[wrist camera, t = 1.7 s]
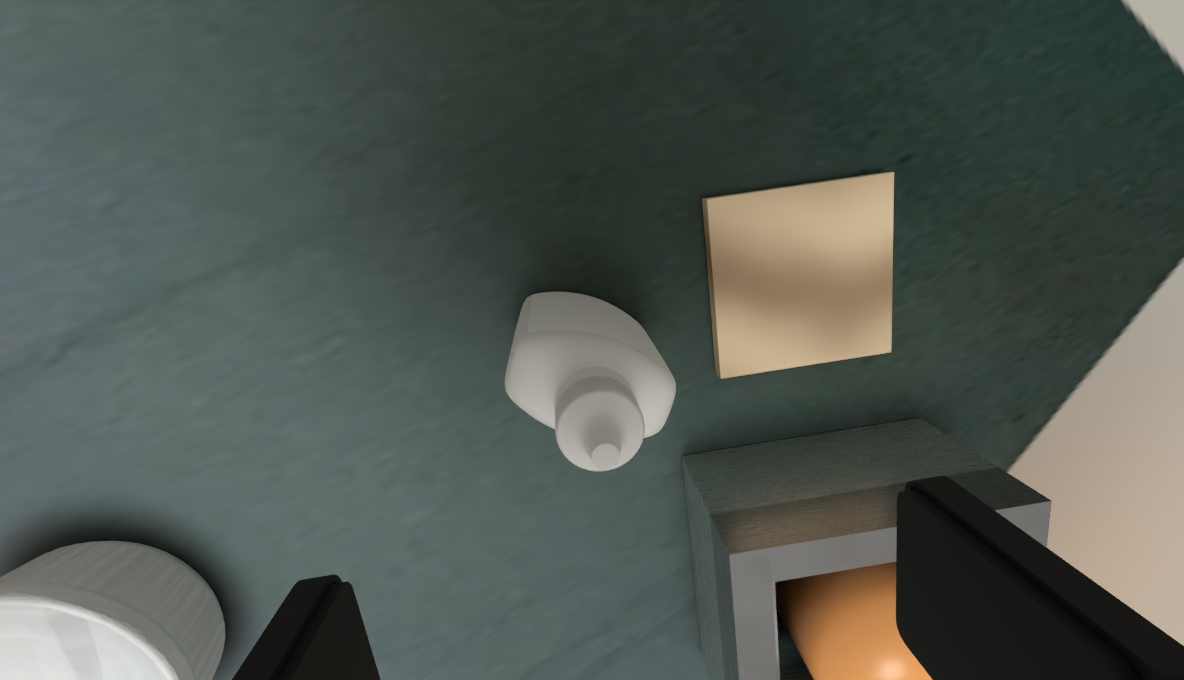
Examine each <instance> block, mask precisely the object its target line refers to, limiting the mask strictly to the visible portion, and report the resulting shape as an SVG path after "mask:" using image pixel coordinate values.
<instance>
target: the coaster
mask: <svg viewBox="0 0 1184 680" xmlns="http://www.w3.org/2000/svg"><path fill="white" fill-rule="evenodd" d="M702 207H703V219H704V232H705V244H706V257H707V270H708V282H709V295H710V308H711V320H712V333H713V346H714V358H715V371H716V374H717V375H718V376H719V377H720V379H723V378H729V377H735V376H742V375H748V374H755V373H761V372H767V371H774V370H780V369H787V368H793V367H799V366H806V365H812V364H819V363H825V362H831V361H838V360H844V359H851V358H857V357H864V356H870V355H876V354H883V353H889V352H891V340H892V275H893V209H894V172H882V173H876V174H869V175H862V176H855V177H848V178H841V179H834V180H827V181H821V182H814V183H807V184H800V185H793V186H786V187H779V188H772V189H765V190H759V191H752V192H745V193H738V194H731V195H724V196H717V197H710V198H704V199H702Z"/></svg>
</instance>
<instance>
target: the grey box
mask: <svg viewBox="0 0 1184 680" xmlns="http://www.w3.org/2000/svg"><path fill="white" fill-rule="evenodd" d="M682 465H683V475H684V485H685V495H686V505H687V515H688V524H689V534H690V544H691V554H692V564H693V573H694V583H695V593H696V603H697V613H698V622H699V632H700V642H701V651H702V654H703V658H704V661H705V664H706V667H707V670H708V673H709V676H710V679H711V680H814V679H813V677H812V675H811V673H810V671H809V669H808V668H807V666H806V664H805V662H804V660H803V658H802V656H801V654H800V653H799V651H798V649H797V647H796V645H795V643H794V641H793V639H792V638H791V636H790V634H789V632H788V630H787V628H786V626H785V624H784V623H783V622H782V623H777V611H776V593H775V582H778V581H784V580H790V579H796V578H802V577H808V576H814V575H820V574H825V573H831V572H837V571H843V570H849V569H855V568H861V567H867V566H873V565H879V564H885V563H891V562H896V543H897V496H898V494H899V492H901V491H904V490H905V486H906V484H907V483H908V482H909V481H912V480H918V479H924V478H930V477H936V476H946V477H948V478H950V479H952V480H953V481H954V482H956V483H957V484H959V485H960V486H961V487H963V488H964V489H966V490H967V491H968V492H970V493H971V494H973V495H974V496H975V497H977V498H978V499H980V500H981V501H982V502H984V503H985V504H986V505H988V506H989V507H991V508H992V509H993V510H995V511H996V512H998V513H999V514H1000V515H1002V516H1003V517H1005V518H1006V519H1007V520H1009V521H1010V522H1012V523H1013V524H1014V525H1016V526H1017V527H1018V528H1020V529H1021V530H1023V531H1024V532H1025V533H1027V534H1028V535H1030V536H1031V537H1032V538H1034V539H1035V540H1037V541H1038V542H1039V543H1041V544H1042V545H1044V546H1045V547H1047V537H1048V528H1049V519H1050V509H1051V500H1049V499H1047V498H1046V497H1044V496H1043V495H1041V494H1040V493H1038V492H1037V491H1035V490H1033V489H1032V488H1030V487H1029V486H1027V485H1025V484H1024V483H1022V482H1021V481H1019V480H1018V479H1016V478H1014V477H1013V476H1011V475H1009V474H1008V473H1007V472H1005V471H1003V470H1002V469H1000V468H999V467H997V466H995V465H994V464H992V463H991V462H989V461H988V460H986V459H984V458H983V457H981V456H980V455H978V454H976V453H975V452H973V451H972V450H970V449H969V448H967V447H965V446H964V445H962V444H961V443H959V442H957V441H956V440H954V439H953V438H951V437H950V436H948V435H946V434H945V433H943V432H942V431H940V430H939V429H937V428H935V427H934V426H932V425H931V424H929V423H927V422H926V421H924V420H923V419H921V418H915V419H908V420H902V421H896V422H890V423H883V424H877V425H871V426H865V427H858V428H852V429H846V430H840V431H834V432H827V433H821V434H815V435H809V436H802V437H796V438H790V439H784V440H777V441H771V442H765V443H759V444H752V445H746V446H740V447H734V448H728V449H721V450H715V451H709V452H703V453H696V454H690V455H684V456H682Z"/></svg>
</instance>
